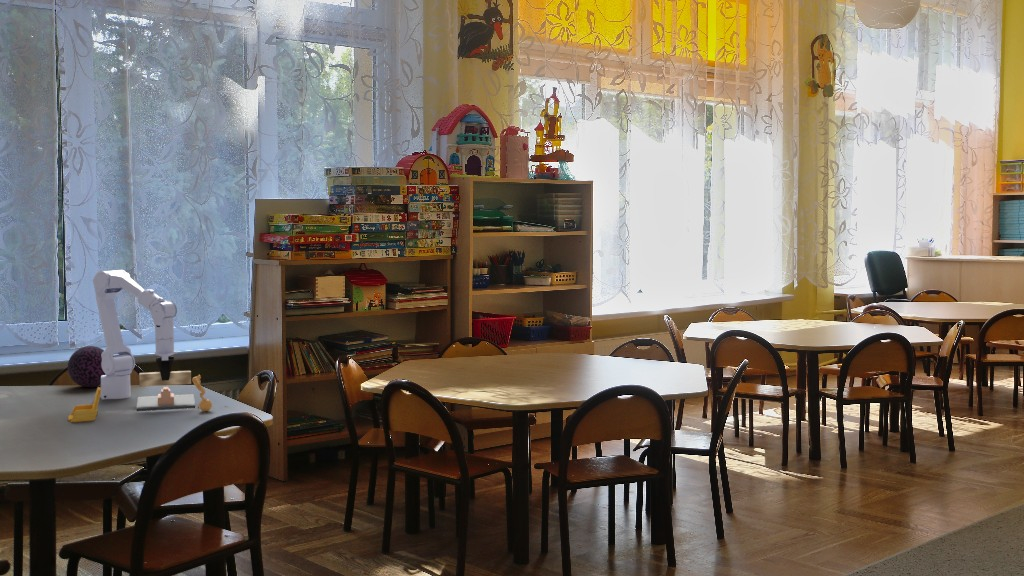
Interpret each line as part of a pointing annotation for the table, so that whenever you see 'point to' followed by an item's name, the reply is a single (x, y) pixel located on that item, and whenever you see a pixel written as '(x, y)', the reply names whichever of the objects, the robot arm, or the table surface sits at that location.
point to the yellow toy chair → (86, 410)
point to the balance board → (155, 399)
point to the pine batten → (156, 380)
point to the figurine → (205, 403)
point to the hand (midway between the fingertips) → (165, 379)
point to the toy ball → (86, 366)
